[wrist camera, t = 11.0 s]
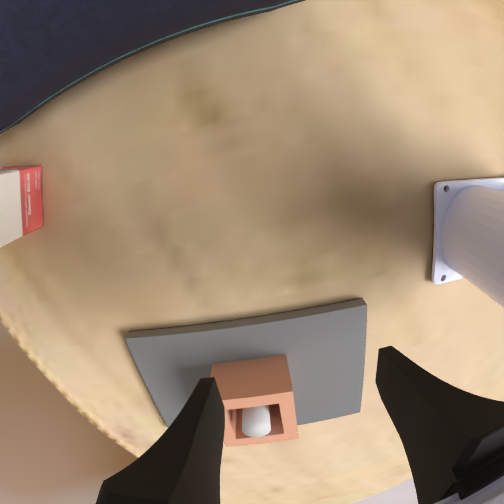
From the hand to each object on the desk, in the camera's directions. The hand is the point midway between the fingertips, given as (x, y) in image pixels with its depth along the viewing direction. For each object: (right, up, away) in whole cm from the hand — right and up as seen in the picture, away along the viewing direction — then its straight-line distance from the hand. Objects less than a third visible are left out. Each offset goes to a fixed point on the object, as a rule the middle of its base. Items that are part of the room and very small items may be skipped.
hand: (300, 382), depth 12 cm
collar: (-2, -5, +11) cm, 12 cm away
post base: (-2, -5, +12) cm, 13 cm away
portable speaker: (-10, +21, +3) cm, 24 cm away
